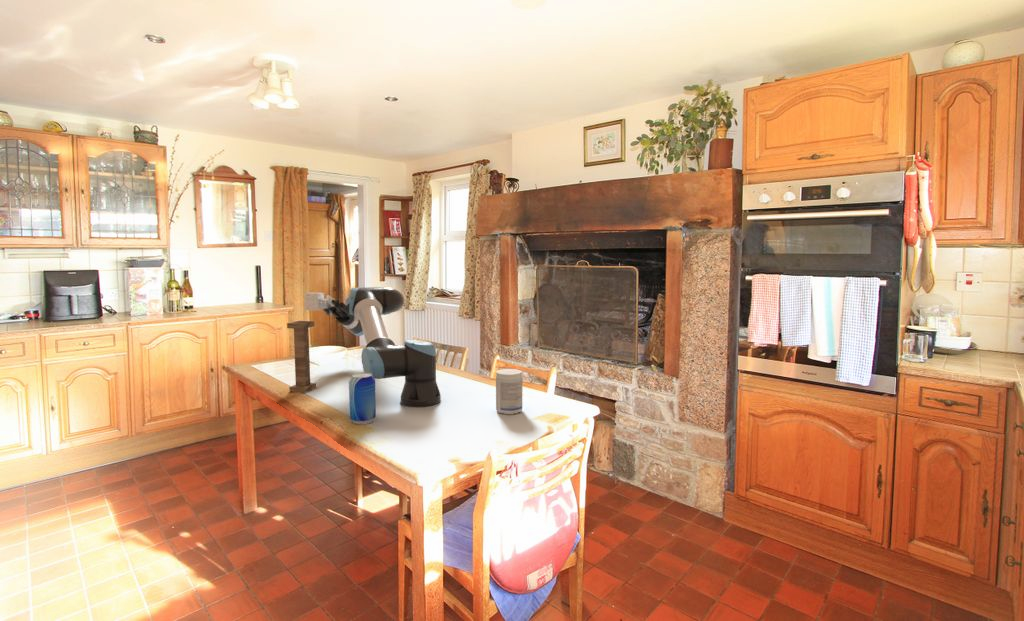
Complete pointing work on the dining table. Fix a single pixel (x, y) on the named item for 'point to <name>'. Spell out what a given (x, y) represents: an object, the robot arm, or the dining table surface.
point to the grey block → (315, 301)
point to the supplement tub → (509, 391)
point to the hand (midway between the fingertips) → (323, 297)
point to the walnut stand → (302, 356)
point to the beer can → (362, 398)
